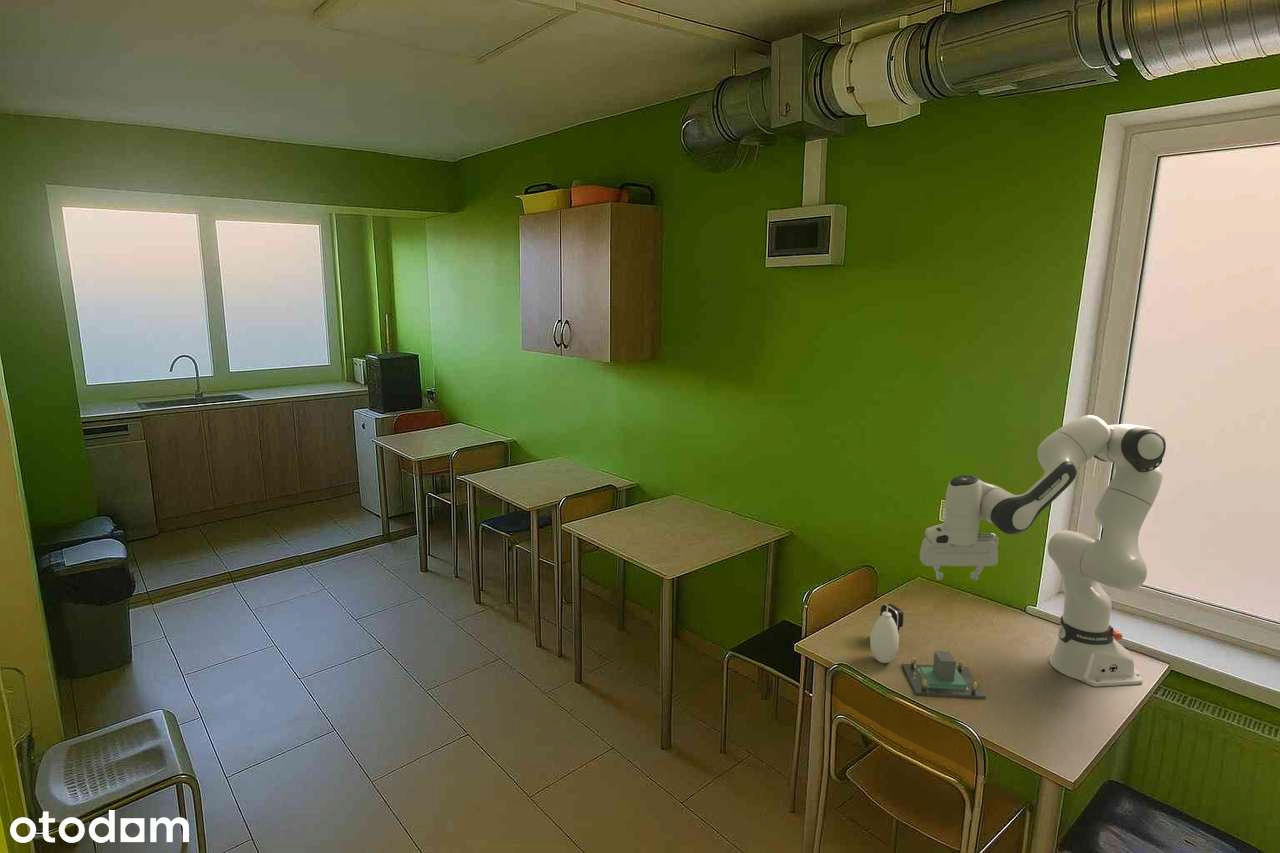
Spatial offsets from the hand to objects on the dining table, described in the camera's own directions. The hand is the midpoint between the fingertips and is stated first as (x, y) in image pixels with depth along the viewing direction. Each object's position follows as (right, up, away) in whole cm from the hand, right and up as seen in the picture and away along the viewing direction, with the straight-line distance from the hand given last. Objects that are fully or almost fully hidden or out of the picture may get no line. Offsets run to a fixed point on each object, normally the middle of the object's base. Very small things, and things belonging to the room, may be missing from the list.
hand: (956, 579), depth 196 cm
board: (-5, -27, -3) cm, 28 cm away
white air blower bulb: (-18, -26, +8) cm, 33 cm away
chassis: (-5, -28, -3) cm, 29 cm away
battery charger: (-12, -23, +19) cm, 32 cm away
